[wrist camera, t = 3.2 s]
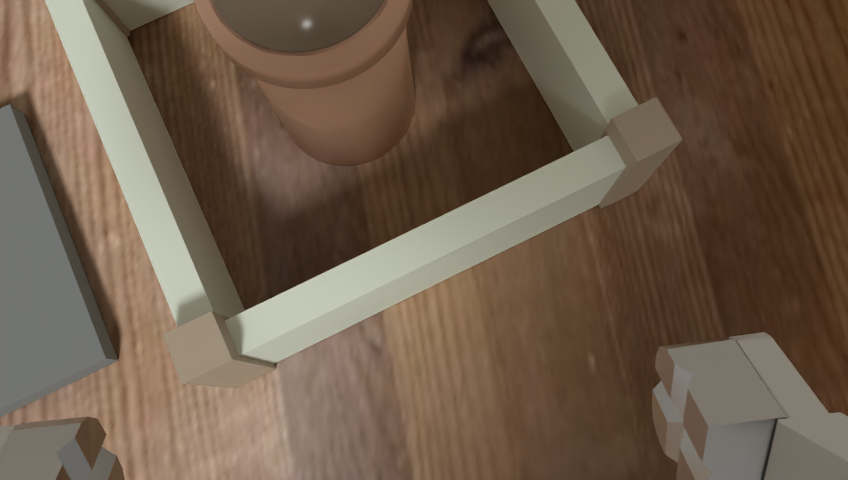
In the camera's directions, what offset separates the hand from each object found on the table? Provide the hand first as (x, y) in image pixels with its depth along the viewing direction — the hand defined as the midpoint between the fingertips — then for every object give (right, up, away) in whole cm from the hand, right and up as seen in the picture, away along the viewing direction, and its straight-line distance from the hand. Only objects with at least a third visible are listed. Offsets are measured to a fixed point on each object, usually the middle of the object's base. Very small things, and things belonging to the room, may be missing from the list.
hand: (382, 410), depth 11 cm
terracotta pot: (-2, +8, +18) cm, 20 cm away
